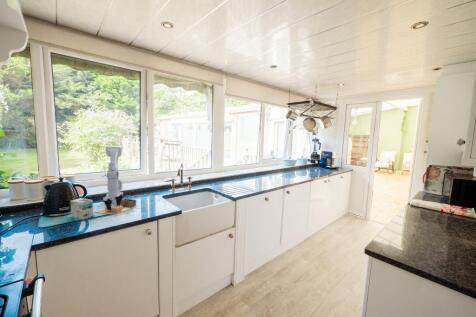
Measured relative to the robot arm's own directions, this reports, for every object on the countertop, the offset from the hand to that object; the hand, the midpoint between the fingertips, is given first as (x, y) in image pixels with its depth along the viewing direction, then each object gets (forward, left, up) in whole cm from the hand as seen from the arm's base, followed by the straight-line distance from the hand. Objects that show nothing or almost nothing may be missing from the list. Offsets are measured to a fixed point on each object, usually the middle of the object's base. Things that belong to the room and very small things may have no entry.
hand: (113, 208), depth 136 cm
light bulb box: (-11, -13, -3) cm, 17 cm away
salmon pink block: (0, 0, -2) cm, 2 cm away
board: (0, +1, -2) cm, 3 cm away
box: (+1, +12, -2) cm, 12 cm away
